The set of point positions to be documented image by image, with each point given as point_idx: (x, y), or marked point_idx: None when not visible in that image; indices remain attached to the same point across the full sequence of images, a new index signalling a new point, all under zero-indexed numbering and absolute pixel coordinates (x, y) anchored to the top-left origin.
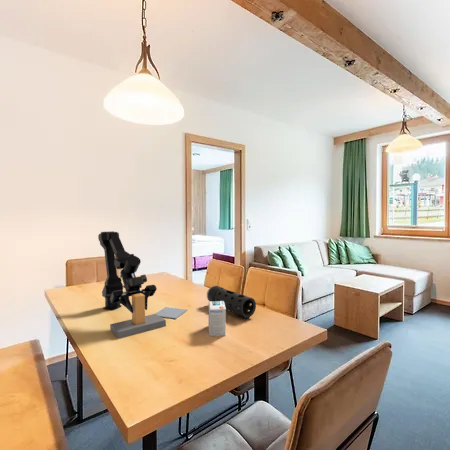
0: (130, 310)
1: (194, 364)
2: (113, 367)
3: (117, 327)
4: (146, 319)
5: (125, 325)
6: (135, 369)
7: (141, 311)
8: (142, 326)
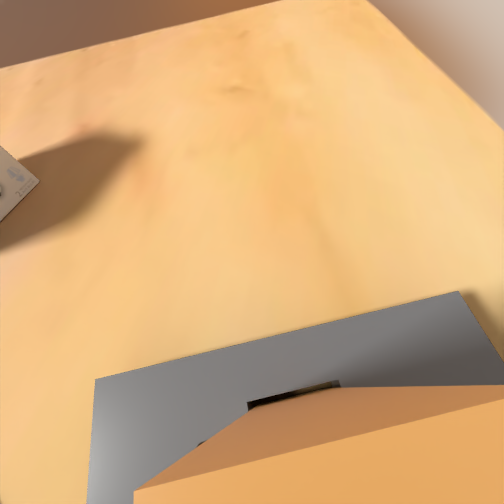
0: None
1: (188, 68)
2: (405, 95)
3: None
4: None
5: None
6: (337, 77)
7: (285, 405)
8: (285, 334)
